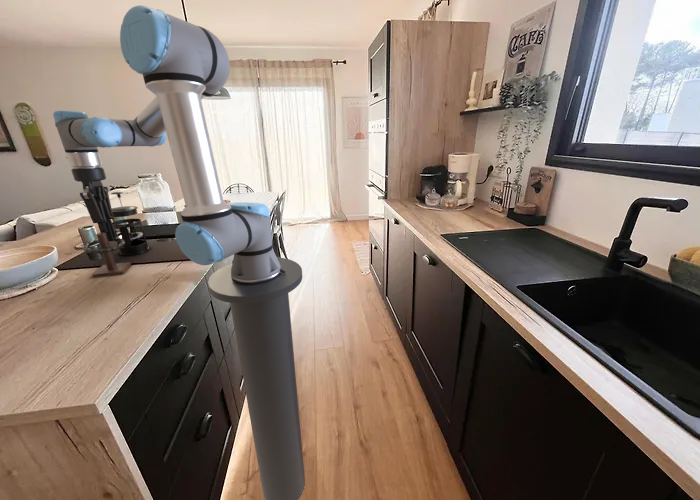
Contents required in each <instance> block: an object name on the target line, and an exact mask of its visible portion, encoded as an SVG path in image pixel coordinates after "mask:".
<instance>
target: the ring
mask: <svg viewBox="0 0 700 500" xmlns="http://www.w3.org/2000/svg"><path fill="white" fill-rule="evenodd" d="M113 238H114V237H113ZM117 241H118V242H120V244H118V243H117V244H116V245H114V246H110V247H111V248H107V249H101V248H100V249H91V248H90V247H92V246H94V245H97V244H99V242H98V239H97V238H96V239H94V240H91V241H89V242H87V243H85V244H84V246H82V250H83V252H85V253H88V254H95V255H98V254H102V253H107V252H111V251H112V252H114V251H117V250H119V248H121V247H123V246H124V244H125V241H124V240H123V239H121V238H114V241H113V242H117Z"/></svg>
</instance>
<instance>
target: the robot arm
mask: <svg viewBox="0 0 700 500" xmlns="http://www.w3.org/2000/svg"><path fill="white" fill-rule="evenodd" d="M119 42H120V43H119V44H120V49H121V53H122V57H123V59H124V60H125V62H126V64H128V66H129V67H130V69H132V71H134V72H136V73H137V74H139V75H142V78H143V81H144V85H145V88H146V90H149V91H150V92H151V93H152V94H153V95H155V97H154V98H153V99H152V100H151V102H149V104H147V105H146V106H145V108H144V109H143V110H142V111H140V113H139V114H138V115H137V116H136V117H135V118H133V119H117V118H105V117H98V116H97V117H96V116H94V117H93V116H92V117H89V116H88V114H87V113H86V112H84V111H78V110H55V111H54V112H53V113H52V116H53V119H54V126H55V127H56V129H57V132H58V136H59V139H60V140H61V144H62V147H63V150H64V152H65V155H66V156H65V159H66V160H67V162H68V164H69V166H70V167H72V168H71V170H70V171H71V174H72V176H73V180H74V181H75V182H80V183H81V184H82V191H83V192H79V196H80V198H81V199H82V201H83V203H84V204H85V207H86V210H87V212H88V214H89V216H90V219H91V221H92V223H93V224H97V227H98V229H99V233H102V232H105V233H106V235H107V238H108V241H109V242H115V241H114V238H117V237H116V234H115V231H114V228H113V224H112V222H113V221H112V220H115V217H111V216H113V213H112V205H111V199H110V195H109V187H108V186H104V184H103V182H102V181H105V180H106V179H107V176H106V172H105V168H103V167H102V166H103V162H102V158H101V155H100V152H99V149H98V148H103V149H104V148H115V147H116V148H117V147H118V148H119V147H150V148H151V147H158V146H162V145H164V144H166V143H165V142H166V140H168V143H169V148H170V151H171V155H172V159H173V163H174V167H175V170H176V174H177V178H178V181H179V186H180V189H181V193H182V196H183V200H184V205H185V206H184V208H183V210H182V211H181V212H180V217H181V220H182V222H181V223H180V224H179V225H178V226H177V227H176V228H175V232H174V236H175V240H176V241H175V242H176V243H177V245H178V247H179V249H180V251H181V252H182V254H183V255H184V256H185V257H186V258H188V259H189V260H190V261H192V262H193V263H195V264H196V265H199V266H210V265H213V264H215V263H219V262H222V261H224V260H225V259H227V258H229V257H231V256H233V258H232V260H231V263H232V268H231V278H232V280H233V281H234V282H236V283H239V284H243V285H255V284H262V283H266V282H269V281H271V280H273V279H275V278H277V277H278V276H279V275H280V274H281V272H282V273H285V271H284V270H282V269H281V266H280V263H279V261H278V259H277V257H278V256H277V254H276V253H275V251H274V246H273V245H274V244H273V235H272V233H273V232H272V224H271V216H270V209H269V207H268V205H266V204H264V203H260V202H248V201H247V202H242V201H241V202H229V203H228V202H226V201H225V200H224V198H223V192H222V189H221V184H220V179H219V175H218V171H217V165H216V161H215V157H214V152H213V148H212V143H211V139H210V134H209V129H208V126H207V120H206V116H205V111H204V107H203V102H202V100H204V98H213V97H214V96H215V95H216V94H217V93H218V92H220V90H222V88H223V87H224V85H225V84H226V83H227V82H228V79H229V76H230V71H231V67H230V66H231V64H230V58H229V55H228V52H227V49H226V48H225V46H224V44H223V42H222V41H221V40H220V39H219V37H218V36H216V35H215V34H214V33H213V32H212V31H210V30H209V29H206V28H205V27H202V26H200V25H197V24H195V23H192V22H188V21H186V20H184V19H182V18H179V17H176V16H174V15H171V14H169V13H166V12H165V11H164V10H162V9H155V8H153V7H149V6H147V5H142V4H138V5H135V6H132V7H131V8H129V10H127V12H125V14H124V16H123V18H122V23H121V25H120V31H119ZM113 237H114V238H113Z"/></svg>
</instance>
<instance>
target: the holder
mask: <svg viewBox="0 0 700 500" xmlns="http://www.w3.org/2000/svg"><path fill="white" fill-rule="evenodd" d="M95 235H96V240H97V239H98V242H99V243H98V244H99V247H100V249H107V248H111V247H112V246H111V244H110V241H108V238H107V235H106V233H105V232H102V233H100V232H98V233H96V234H95ZM101 254H102V257H103V259H104V262H105V264H102V265H101V266H100V267H99V268H98V269H97V270H96V271H95V272H93V273H92V275H91V276H92V278H101V277H109V276H116V275H124V273H125V272H126V271H127V270H128V269H129V268H130V267H131V266H132V262H131V261H127V262H118V263H117V262H116V260H115V257H114V254H113V251H111V252H107V253H101Z"/></svg>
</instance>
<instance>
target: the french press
mask: <svg viewBox="0 0 700 500" xmlns="http://www.w3.org/2000/svg"><path fill="white" fill-rule="evenodd" d="M110 194H111V195H116V197H117V198H118V200H119V202H120V206H118V207H113V208H112V207H111V208H112V213H113V216H111V217H114V218H123V217H124V219H119V220H115V221H112V224H113V228H114V231H115V234H116V237H117V238H121V239H123V240H124V241H125V244H124V246H123V247H121V248H119V249H118V250H119V255H120V256H125V257H130V256H136V255H141V254H143V253H146V252H148V251H149V250H150V246H149V245H148V240H147V237H146V234H145V230H144V226H143V223H142V219H140V218H127V217H131V216H134V215H137V214H138V206H135V205H129V206H128V205H127V206H126V205H125V206H123V203H122V200H121V198H122V196H121V195H123V194H126V192H125V191H114V192H111V193H110ZM137 226H140V229H141V232H139V231H138V232H137V229H136V227H137ZM117 229H118V230H119V233H120V235H118V232H117ZM141 238H143V239H141ZM116 243H117V245H118V244H120V242H118V241H116Z"/></svg>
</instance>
